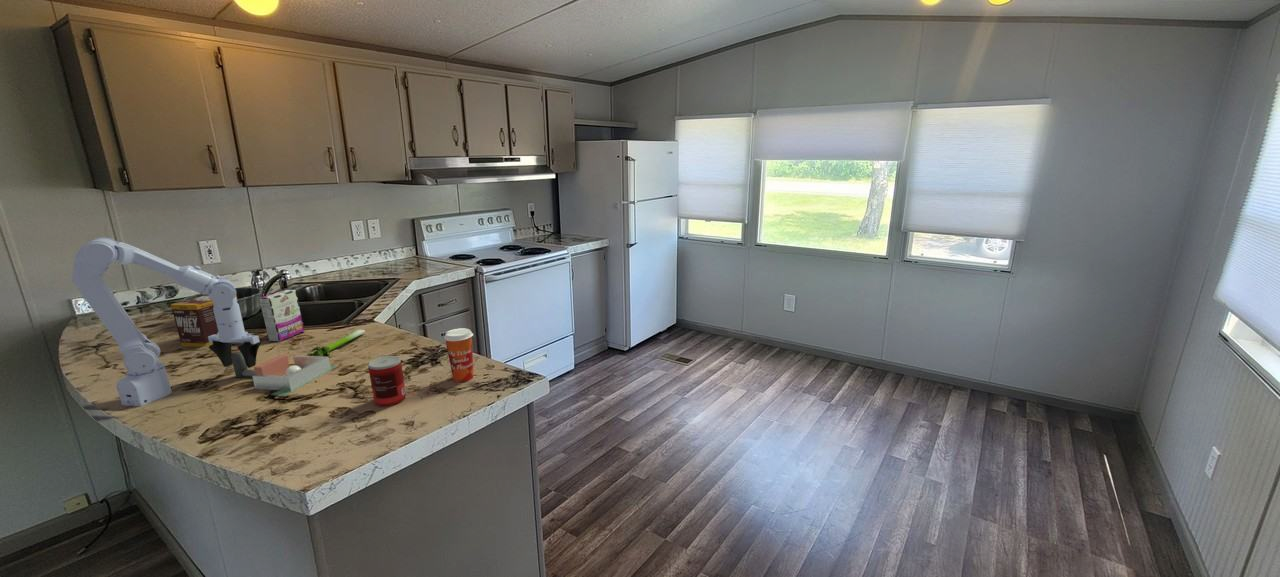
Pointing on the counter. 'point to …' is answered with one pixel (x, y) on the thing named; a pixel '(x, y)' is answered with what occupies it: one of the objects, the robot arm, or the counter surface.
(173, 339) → the counter surface
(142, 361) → the robot arm
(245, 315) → the bundt pan
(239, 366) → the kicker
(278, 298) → the candy bar box
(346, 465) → the counter surface
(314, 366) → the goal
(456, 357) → the paper cup
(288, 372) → the ball
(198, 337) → the supplement box
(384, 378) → the canned food
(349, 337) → the leek
